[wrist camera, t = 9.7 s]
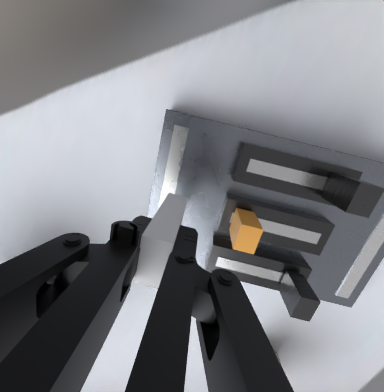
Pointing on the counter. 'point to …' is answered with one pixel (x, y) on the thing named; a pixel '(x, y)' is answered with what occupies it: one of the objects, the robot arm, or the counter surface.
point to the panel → (217, 181)
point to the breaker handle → (245, 231)
